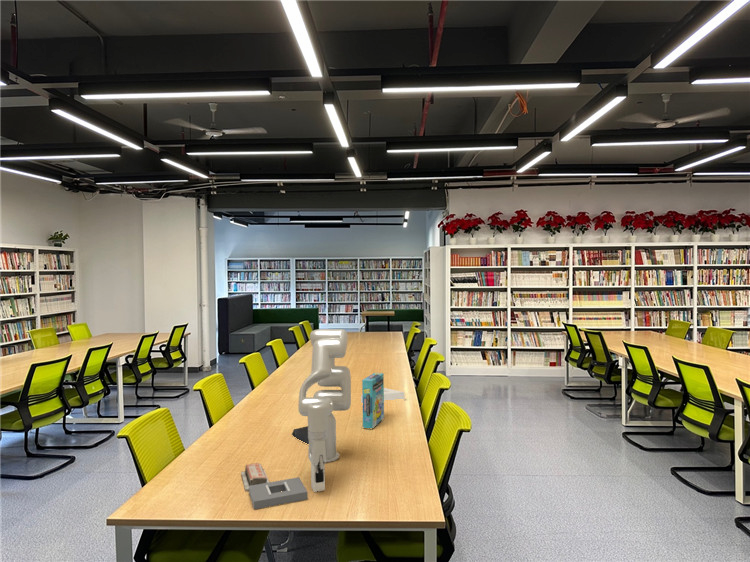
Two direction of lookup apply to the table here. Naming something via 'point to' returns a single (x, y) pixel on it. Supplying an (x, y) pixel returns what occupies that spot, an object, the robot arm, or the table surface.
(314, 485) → the charger plug
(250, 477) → the packaged product
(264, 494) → the plate
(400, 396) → the triangle block
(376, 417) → the game box
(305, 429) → the black angular slab
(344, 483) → the table surface
